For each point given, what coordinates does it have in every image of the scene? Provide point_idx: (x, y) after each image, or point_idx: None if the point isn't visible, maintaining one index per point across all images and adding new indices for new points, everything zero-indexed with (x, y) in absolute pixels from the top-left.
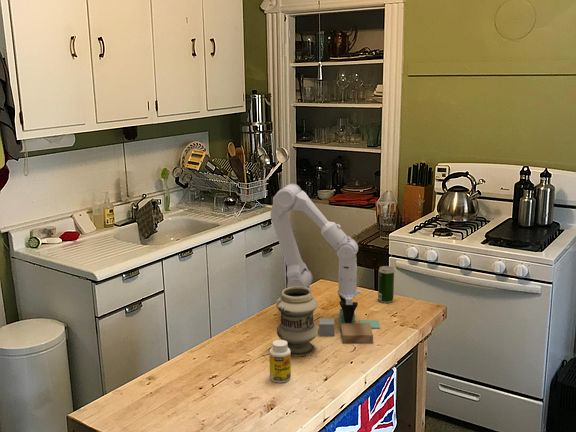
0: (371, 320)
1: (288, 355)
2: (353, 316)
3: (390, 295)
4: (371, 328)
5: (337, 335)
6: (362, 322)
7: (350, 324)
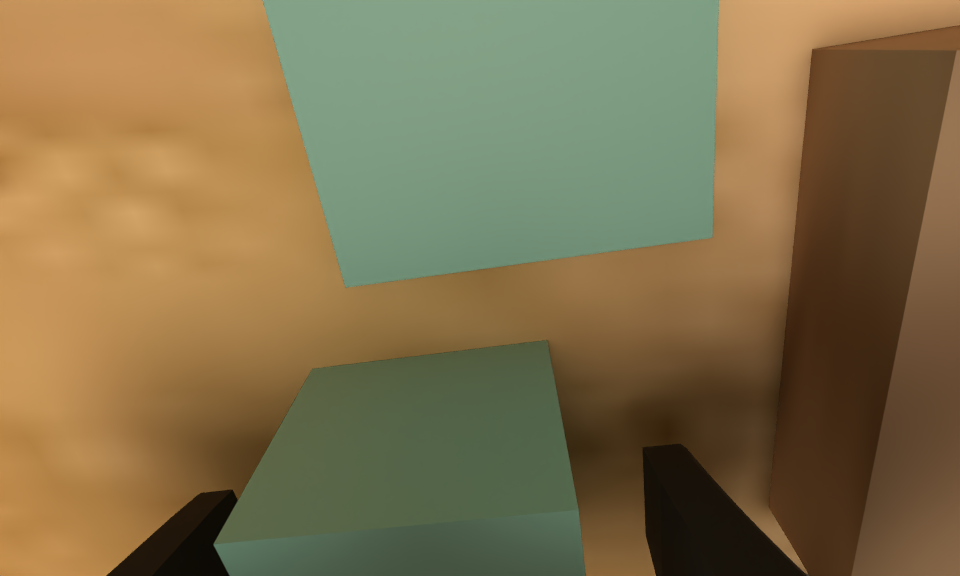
0: (297, 26)
1: None
2: (570, 482)
3: None
4: (710, 7)
5: None
6: (451, 222)
7: (933, 492)
